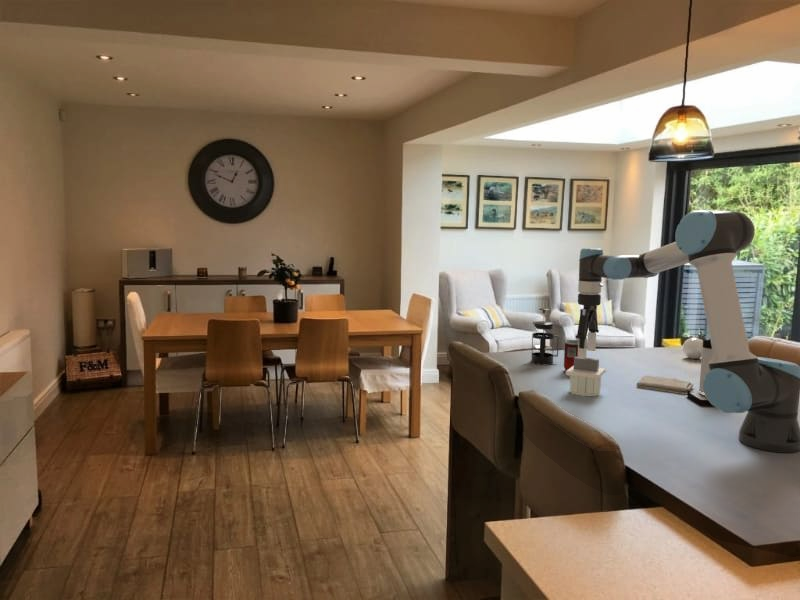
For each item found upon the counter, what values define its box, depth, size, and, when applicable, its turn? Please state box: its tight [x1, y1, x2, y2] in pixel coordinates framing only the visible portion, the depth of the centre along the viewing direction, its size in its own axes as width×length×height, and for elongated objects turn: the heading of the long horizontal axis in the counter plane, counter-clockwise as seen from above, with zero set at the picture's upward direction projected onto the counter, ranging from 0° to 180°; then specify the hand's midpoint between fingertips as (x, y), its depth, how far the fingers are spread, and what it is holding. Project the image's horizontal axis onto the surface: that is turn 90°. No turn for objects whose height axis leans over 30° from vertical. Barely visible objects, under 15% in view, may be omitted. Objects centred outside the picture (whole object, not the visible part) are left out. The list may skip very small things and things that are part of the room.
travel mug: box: [698, 338, 713, 392], centre depth 222 cm, size 6×7×20 cm
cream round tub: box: [569, 375, 602, 397], centre depth 224 cm, size 10×10×7 cm
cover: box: [565, 357, 606, 378], centre depth 223 cm, size 11×11×5 cm
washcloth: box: [636, 375, 694, 395], centre depth 233 cm, size 12×18×3 cm, turn 58°
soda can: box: [563, 339, 578, 372], centre depth 255 cm, size 7×7×12 cm
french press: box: [530, 307, 560, 365], centre depth 271 cm, size 12×9×23 cm
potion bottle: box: [682, 336, 704, 360], centre depth 281 cm, size 9×10×15 cm
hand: (586, 354), depth 223 cm, fingers open, 13 cm apart
